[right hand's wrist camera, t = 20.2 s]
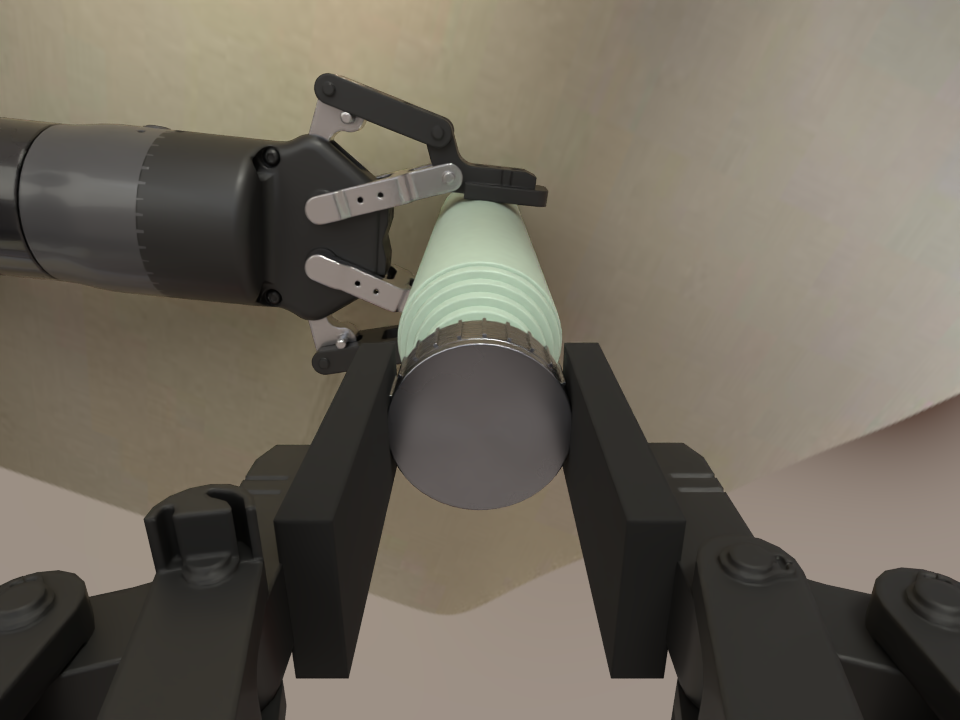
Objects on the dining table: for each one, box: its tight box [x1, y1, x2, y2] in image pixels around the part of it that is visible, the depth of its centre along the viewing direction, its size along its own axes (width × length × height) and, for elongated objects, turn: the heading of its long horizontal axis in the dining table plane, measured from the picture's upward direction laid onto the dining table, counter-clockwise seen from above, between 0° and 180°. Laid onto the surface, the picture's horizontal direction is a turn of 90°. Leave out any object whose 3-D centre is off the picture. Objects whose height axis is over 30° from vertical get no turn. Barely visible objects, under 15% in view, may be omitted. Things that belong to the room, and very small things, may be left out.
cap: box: [388, 318, 572, 510], centre depth 14 cm, size 4×4×2 cm
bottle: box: [398, 192, 562, 364], centre depth 25 cm, size 5×5×24 cm
